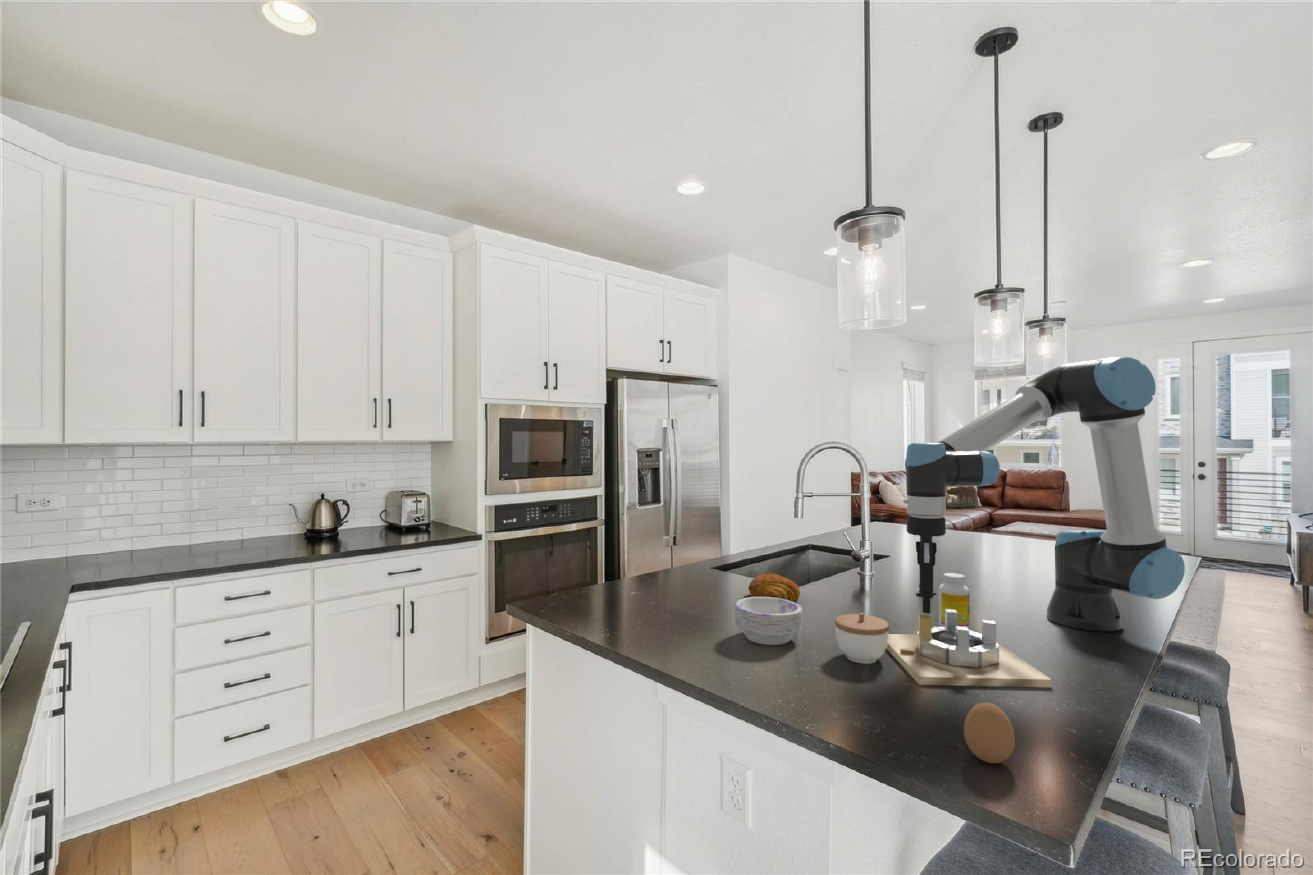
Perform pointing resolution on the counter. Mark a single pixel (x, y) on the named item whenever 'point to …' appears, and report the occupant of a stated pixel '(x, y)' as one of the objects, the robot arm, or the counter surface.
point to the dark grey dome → (952, 639)
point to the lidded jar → (862, 637)
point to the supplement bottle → (954, 599)
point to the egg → (989, 733)
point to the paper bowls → (768, 619)
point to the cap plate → (964, 668)
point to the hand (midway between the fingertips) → (926, 626)
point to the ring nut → (958, 642)
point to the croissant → (774, 587)
